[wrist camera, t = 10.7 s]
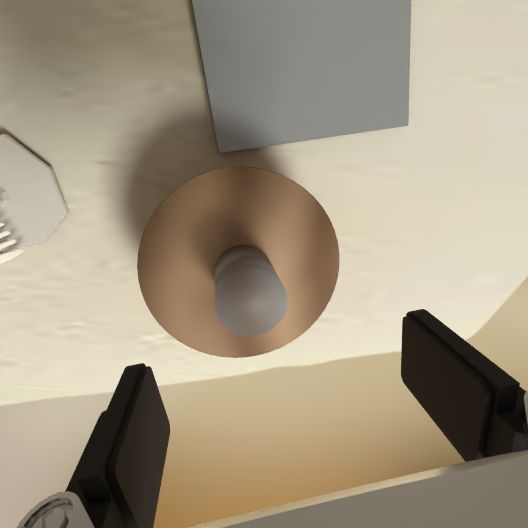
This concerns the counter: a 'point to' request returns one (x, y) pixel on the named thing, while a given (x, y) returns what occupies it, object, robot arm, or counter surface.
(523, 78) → the counter surface
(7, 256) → the fork
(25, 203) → the wineglass
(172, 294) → the lid
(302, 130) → the mat
